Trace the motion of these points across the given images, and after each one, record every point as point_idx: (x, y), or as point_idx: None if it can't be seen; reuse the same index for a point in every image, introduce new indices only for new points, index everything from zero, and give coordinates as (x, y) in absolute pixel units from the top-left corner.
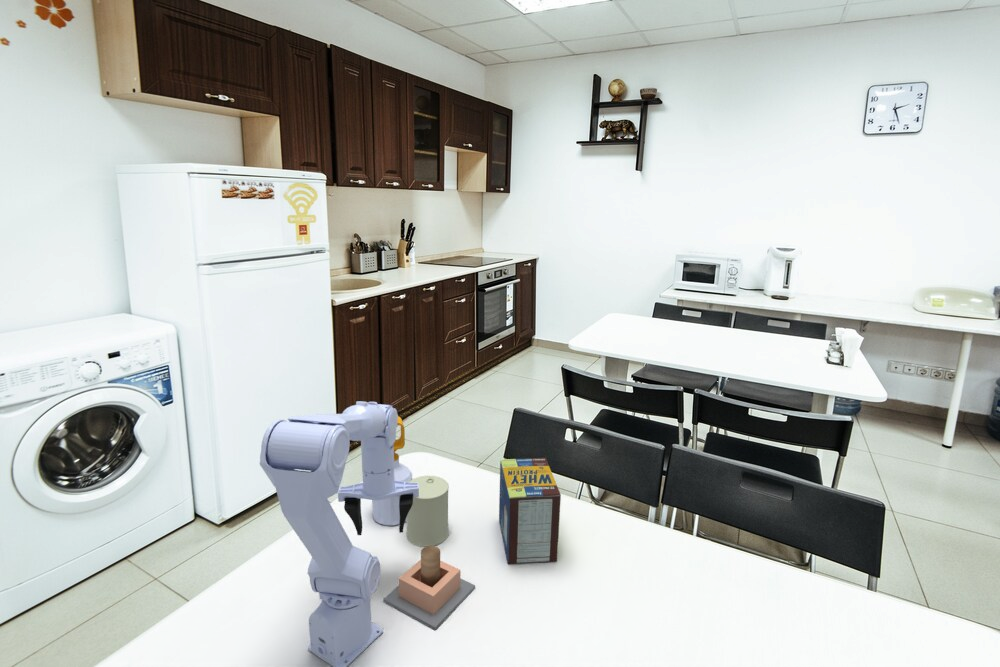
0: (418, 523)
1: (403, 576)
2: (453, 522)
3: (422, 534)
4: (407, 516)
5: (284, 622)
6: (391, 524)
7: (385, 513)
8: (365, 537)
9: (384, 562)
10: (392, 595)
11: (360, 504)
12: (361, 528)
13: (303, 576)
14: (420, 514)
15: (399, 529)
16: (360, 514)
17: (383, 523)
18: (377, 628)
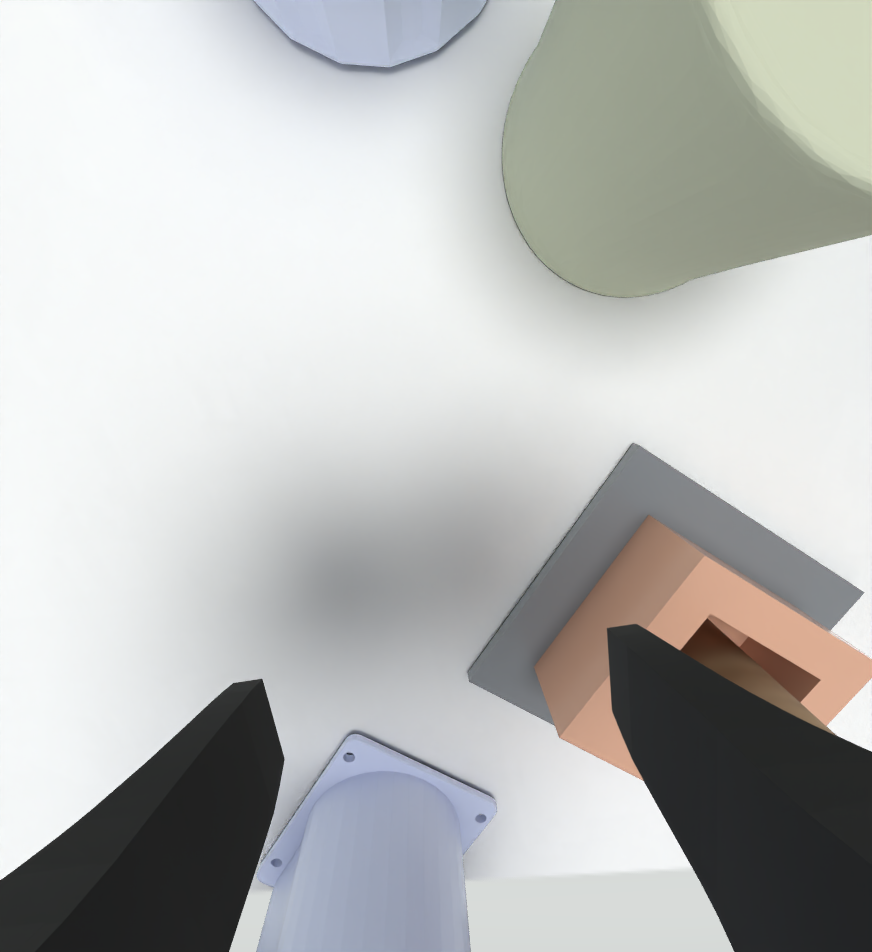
0: (659, 259)
1: (583, 724)
2: None
3: (647, 282)
4: (561, 154)
5: (118, 778)
6: (388, 65)
7: (332, 4)
8: (249, 210)
9: (420, 435)
10: (504, 663)
11: (81, 944)
12: (263, 766)
13: (52, 548)
14: (732, 250)
15: (631, 751)
16: (179, 843)
17: (328, 55)
18: (476, 808)
